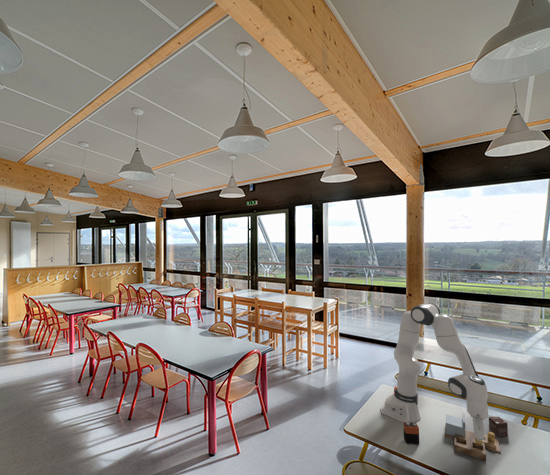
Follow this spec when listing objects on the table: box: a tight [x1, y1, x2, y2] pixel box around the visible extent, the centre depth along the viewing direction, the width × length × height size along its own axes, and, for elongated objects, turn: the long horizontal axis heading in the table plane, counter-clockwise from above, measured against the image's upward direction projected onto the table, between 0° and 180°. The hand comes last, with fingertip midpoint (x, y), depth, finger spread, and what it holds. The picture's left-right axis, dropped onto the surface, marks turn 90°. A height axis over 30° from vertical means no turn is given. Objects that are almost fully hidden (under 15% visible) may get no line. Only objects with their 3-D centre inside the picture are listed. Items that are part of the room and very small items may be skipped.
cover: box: [445, 413, 466, 437], centre depth 156 cm, size 9×9×9 cm
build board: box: [453, 434, 487, 461], centre depth 144 cm, size 13×9×3 cm
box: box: [488, 416, 509, 438], centre depth 156 cm, size 6×6×7 cm
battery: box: [402, 422, 420, 446], centre depth 151 cm, size 4×7×10 cm, turn 81°
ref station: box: [444, 424, 501, 454], centre depth 152 cm, size 24×10×6 cm, turn 57°
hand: (478, 437), depth 143 cm, fingers closed on pin, 3 cm apart
